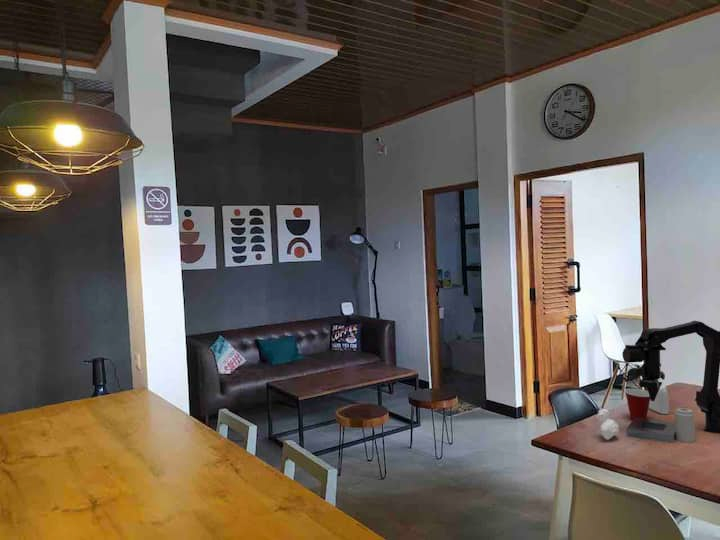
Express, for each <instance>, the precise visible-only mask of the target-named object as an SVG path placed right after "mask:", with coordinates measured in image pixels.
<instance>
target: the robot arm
mask: <svg viewBox="0 0 720 540" xmlns="http://www.w3.org/2000/svg"><path fill="white" fill-rule="evenodd" d="M695 333H696V335H698V336H699V337H701V338H702V344H703V347H704V349H705V364H704V372H703V373H704V374H703V381H702V382H703V383H702V389H700V391H699V390H695V391H696V392H695V399H694V401H695V402H696V405H697V407H698V408H699V409H700V411H701V412H702V413H704V415H705V416H704V417H705V419H704V420H705V425H704V427H703V431H704V432H710V433H715V432H716V434H720V393H719V390H718V389H719V379H720V330H719V331H718V330H717V329H715V328H713V327H711V326H709V325H707V324H705V322H702V321H700V320H699V321H698V320H692V321H689V322H685V323H681V324H676V325H673V326H669V327H664V328H661V327H660V328H659V327H657V328H655V327H652V328H645V329H643V330H642V331H641V334H640V336H639V337H638V339H637V340H636V342H635V343H634V344H632V345H631V344H625V345H624V349H623V351H622V354H621V355H622V359H623V361H624V363H627V364H628V363H642V362H643V363H642V365H641V366H639V367H633V368H629V369H628V370H627V375H628V376H629V378H630V379H631V380H633V379H636V378H639V377H641V379H640V380H639V381H638V385H639V388H646V389H647V391H648V392H649V396H650V399H651V401H654V400H655V398H656V396H657V394H658V391H659V389H660V387H661V385H663V382H662V381H660V379H661V380H663V381H664V380H665V379H666V374H665V372H663V371H661V367H662V363H661V351H666V350H667V349H666V347H664V346H663V343H664V344H665V343H666V342H667V341H668V340H670V339H674V338H679V337H682V336H686V335H691V334H695Z"/></svg>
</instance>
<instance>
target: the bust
mask: <svg viewBox="0 0 720 540" xmlns="http://www.w3.org/2000/svg"><path fill="white" fill-rule="evenodd" d="M609 416H610V412H609V410H607V409H606V408H602V409H600V410H598V411H597V415H596V420H598V421H600V425H599V426H600V428H599V429H600V433H601V436H602V437H603V438H604V439H605V440H610V439H611V438H612V437H614V436H616V435H617V434H619V431H620V428H619V425H618V423H617V422H616V421H615V420H614V419H611V418H609Z"/></svg>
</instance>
